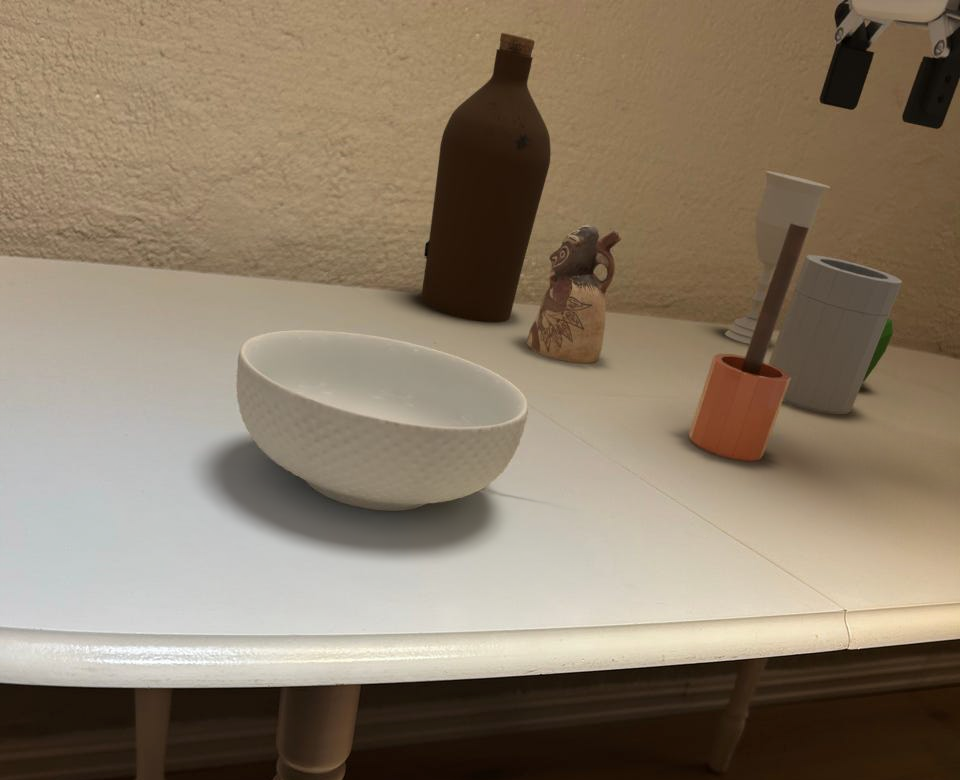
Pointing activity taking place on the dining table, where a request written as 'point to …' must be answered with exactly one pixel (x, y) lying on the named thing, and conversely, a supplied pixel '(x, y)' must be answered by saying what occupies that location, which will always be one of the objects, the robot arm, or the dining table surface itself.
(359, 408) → the cereal bowl
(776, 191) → the chalice
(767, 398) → the holder
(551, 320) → the figurine
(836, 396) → the gray cylindrical pot
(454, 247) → the olive oil
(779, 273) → the brush
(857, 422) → the dining table surface
